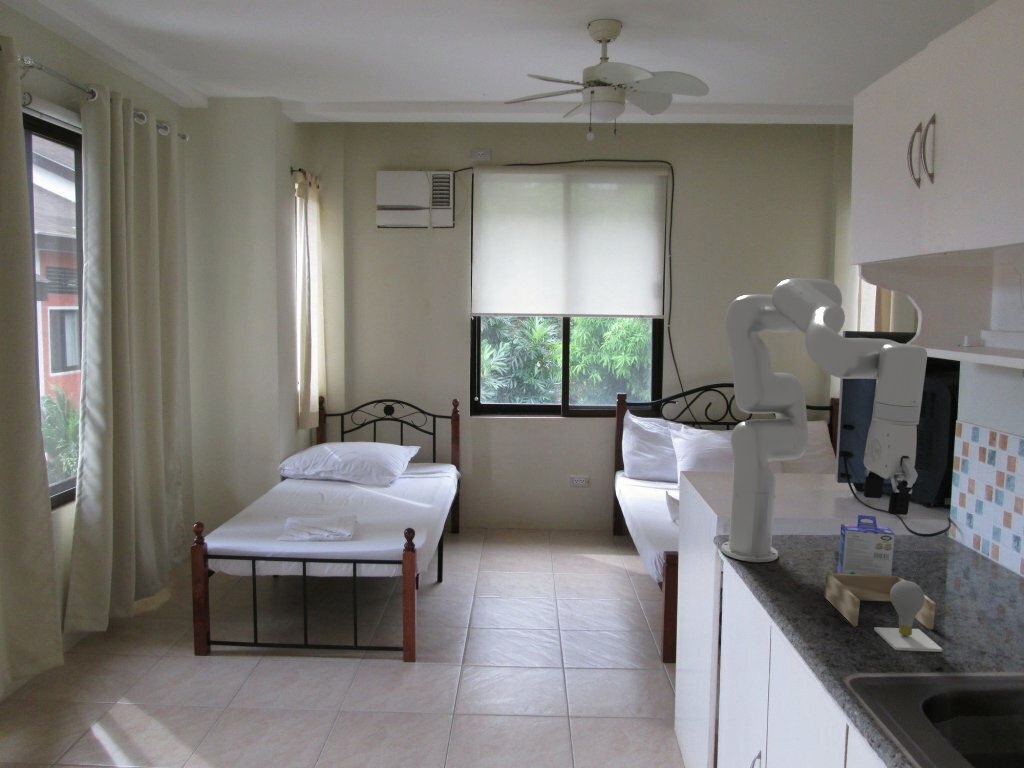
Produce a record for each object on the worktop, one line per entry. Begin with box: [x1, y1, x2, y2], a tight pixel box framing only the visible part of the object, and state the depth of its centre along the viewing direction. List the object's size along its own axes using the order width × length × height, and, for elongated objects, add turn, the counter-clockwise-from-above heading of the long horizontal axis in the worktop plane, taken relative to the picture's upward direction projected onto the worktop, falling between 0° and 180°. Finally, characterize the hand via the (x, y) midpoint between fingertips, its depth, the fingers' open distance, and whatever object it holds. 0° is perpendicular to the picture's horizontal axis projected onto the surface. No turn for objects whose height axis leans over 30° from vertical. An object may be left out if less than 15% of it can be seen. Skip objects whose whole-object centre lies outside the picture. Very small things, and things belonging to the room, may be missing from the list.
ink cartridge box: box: [837, 514, 896, 576], centre depth 163 cm, size 10×6×14 cm, turn 79°
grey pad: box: [873, 626, 943, 653], centre depth 137 cm, size 8×8×1 cm
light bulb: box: [890, 580, 926, 637], centre depth 137 cm, size 5×6×10 cm
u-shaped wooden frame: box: [824, 572, 936, 630], centre depth 149 cm, size 14×15×5 cm
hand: (884, 505), depth 141 cm, fingers open, 9 cm apart
